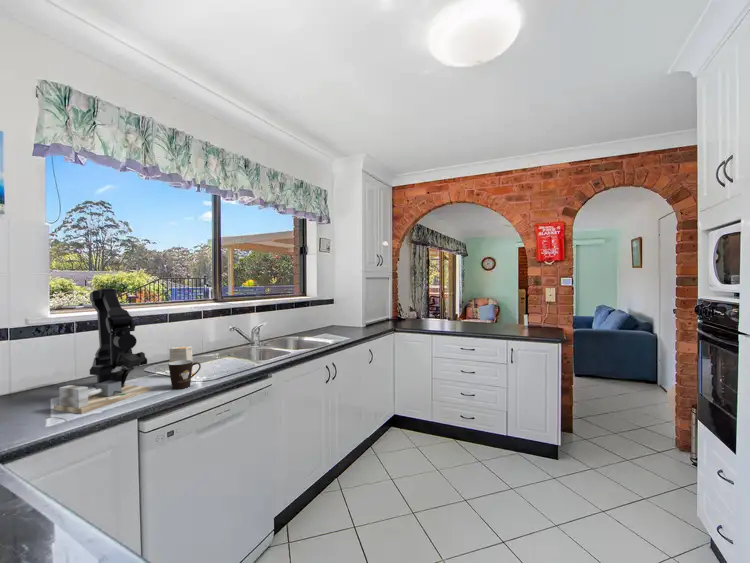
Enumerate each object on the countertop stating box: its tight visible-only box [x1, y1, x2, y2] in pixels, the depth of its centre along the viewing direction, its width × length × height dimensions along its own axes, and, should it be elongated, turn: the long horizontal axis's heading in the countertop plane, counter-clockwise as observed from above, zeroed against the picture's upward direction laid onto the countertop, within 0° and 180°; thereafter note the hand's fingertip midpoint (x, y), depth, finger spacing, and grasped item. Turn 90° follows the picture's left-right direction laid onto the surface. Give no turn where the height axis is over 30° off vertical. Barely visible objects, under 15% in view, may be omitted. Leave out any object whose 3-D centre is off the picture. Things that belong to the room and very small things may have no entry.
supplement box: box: [168, 345, 194, 375], centre depth 165 cm, size 8×5×13 cm, turn 84°
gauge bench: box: [53, 384, 151, 414], centre depth 134 cm, size 13×25×8 cm, turn 162°
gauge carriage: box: [88, 380, 122, 397], centre depth 132 cm, size 9×11×4 cm
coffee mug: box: [168, 360, 202, 391], centre depth 148 cm, size 12×9×10 cm
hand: (120, 388), depth 139 cm, fingers closed
